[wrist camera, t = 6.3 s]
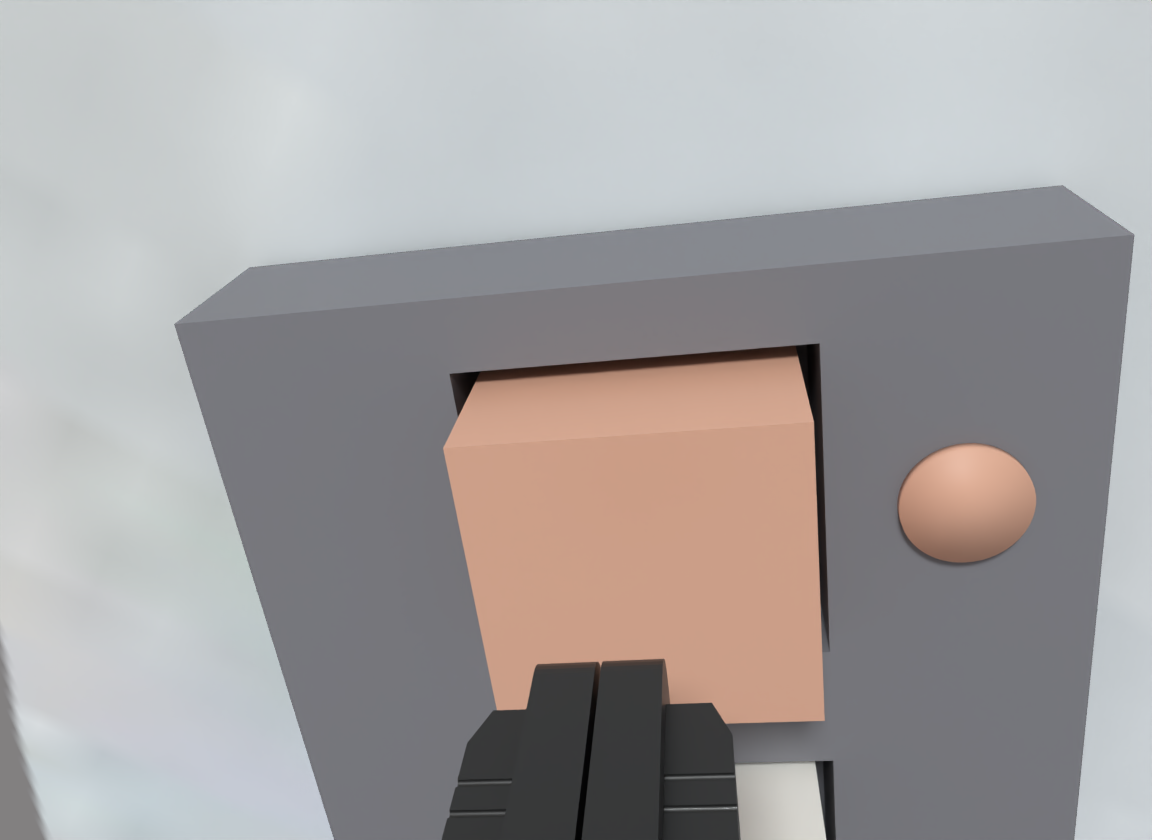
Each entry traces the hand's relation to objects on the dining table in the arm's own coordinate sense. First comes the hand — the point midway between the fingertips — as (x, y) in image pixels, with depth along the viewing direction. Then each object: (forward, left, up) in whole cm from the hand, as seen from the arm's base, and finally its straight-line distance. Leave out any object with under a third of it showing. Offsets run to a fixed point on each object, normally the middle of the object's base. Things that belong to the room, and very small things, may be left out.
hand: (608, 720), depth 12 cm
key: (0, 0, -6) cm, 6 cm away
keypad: (0, +8, -8) cm, 11 cm away
